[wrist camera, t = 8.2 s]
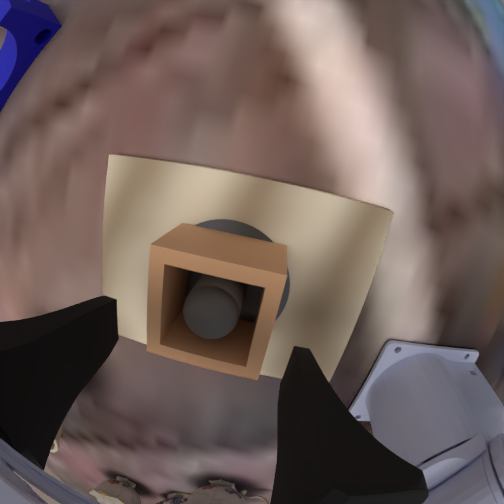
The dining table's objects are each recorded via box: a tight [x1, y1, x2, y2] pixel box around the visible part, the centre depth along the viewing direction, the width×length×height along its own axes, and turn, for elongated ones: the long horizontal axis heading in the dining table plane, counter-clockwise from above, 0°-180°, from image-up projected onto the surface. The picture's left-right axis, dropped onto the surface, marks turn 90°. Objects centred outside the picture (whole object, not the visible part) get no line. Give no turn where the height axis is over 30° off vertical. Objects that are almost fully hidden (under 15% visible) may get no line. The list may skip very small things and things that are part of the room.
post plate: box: [102, 154, 394, 382], centre depth 15 cm, size 16×12×6 cm
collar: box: [147, 223, 287, 380], centre depth 14 cm, size 6×6×4 cm
